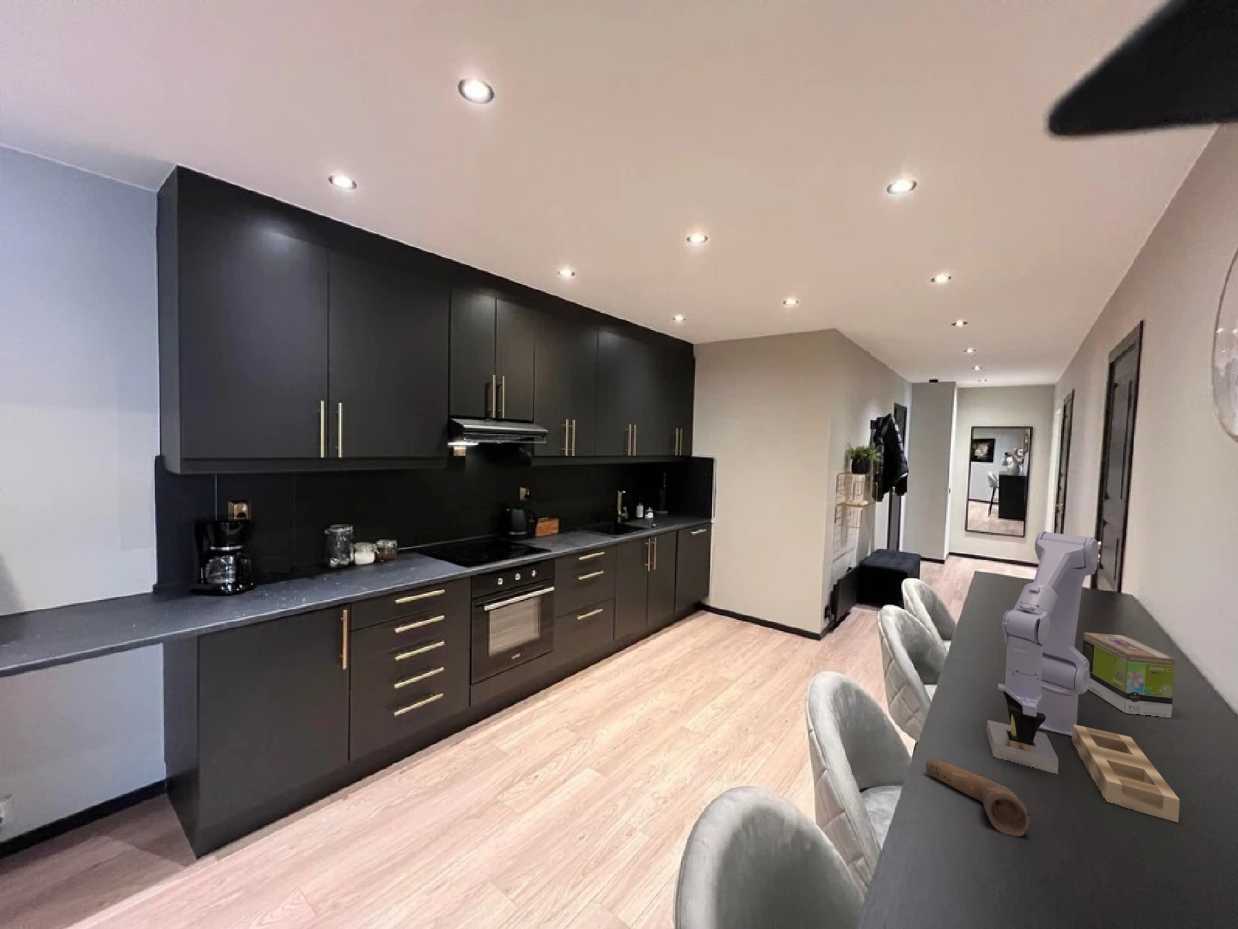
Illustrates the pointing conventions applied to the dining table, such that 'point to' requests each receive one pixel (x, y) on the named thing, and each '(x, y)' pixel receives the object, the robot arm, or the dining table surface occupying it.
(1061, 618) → the robot arm
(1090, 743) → the rack
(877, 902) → the dining table surface
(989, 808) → the pipe
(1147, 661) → the tea box
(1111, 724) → the dining table surface
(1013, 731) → the tan brown peg
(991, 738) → the socket block
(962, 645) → the dining table surface
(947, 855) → the dining table surface
